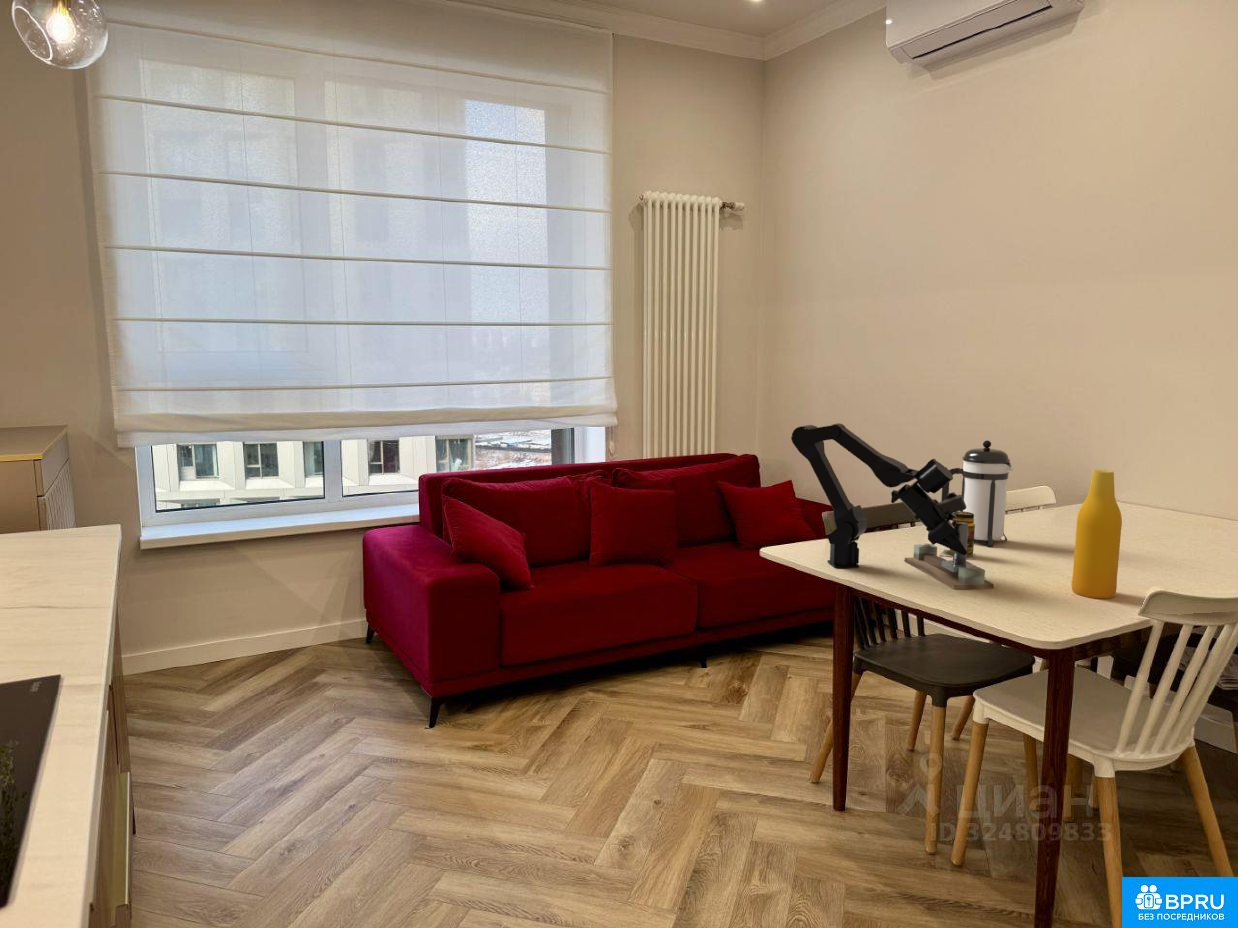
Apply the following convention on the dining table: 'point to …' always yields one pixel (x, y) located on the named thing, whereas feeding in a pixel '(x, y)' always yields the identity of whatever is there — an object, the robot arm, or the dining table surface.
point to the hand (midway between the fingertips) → (966, 552)
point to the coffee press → (984, 490)
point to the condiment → (969, 519)
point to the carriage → (958, 558)
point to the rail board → (944, 575)
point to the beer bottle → (1097, 540)
